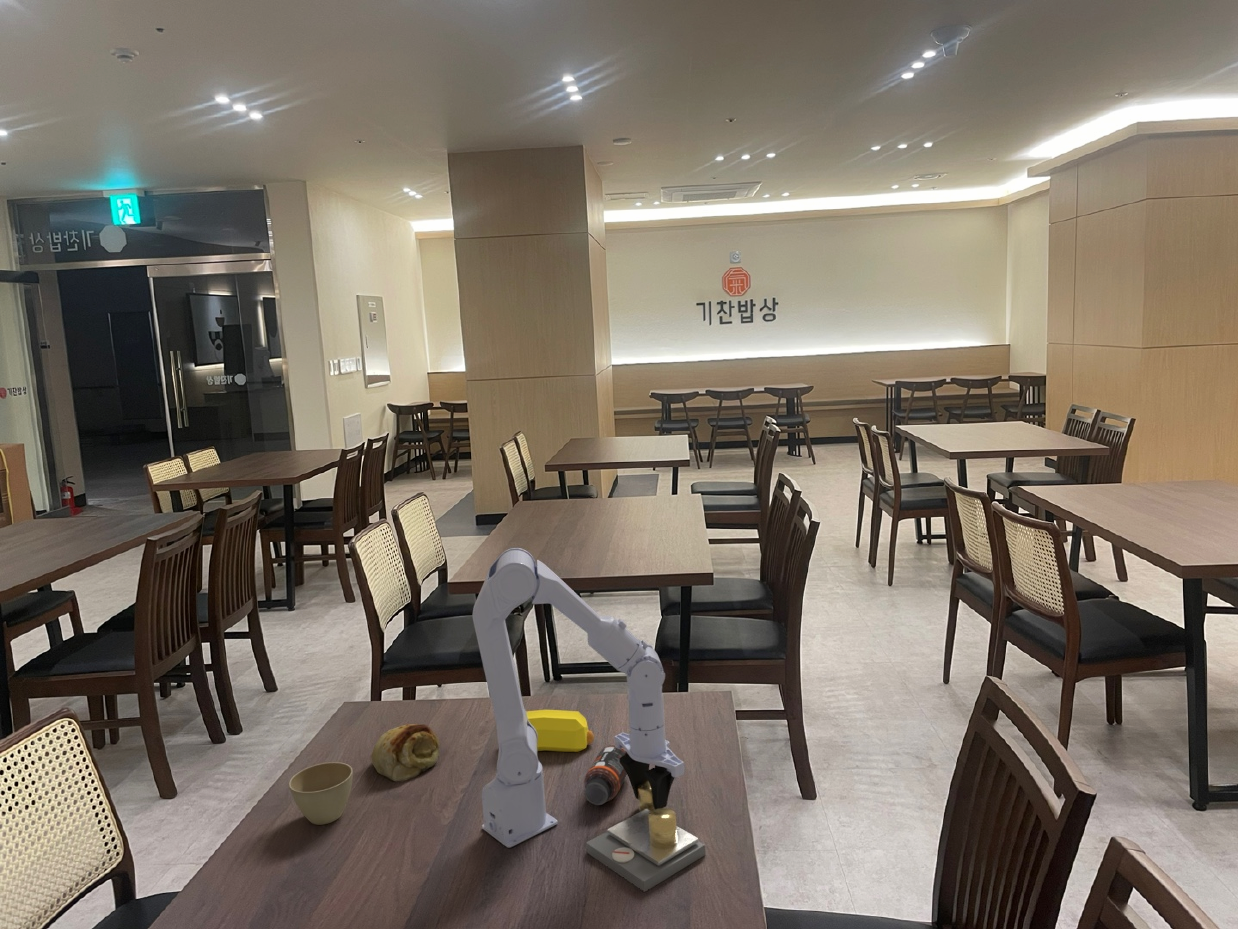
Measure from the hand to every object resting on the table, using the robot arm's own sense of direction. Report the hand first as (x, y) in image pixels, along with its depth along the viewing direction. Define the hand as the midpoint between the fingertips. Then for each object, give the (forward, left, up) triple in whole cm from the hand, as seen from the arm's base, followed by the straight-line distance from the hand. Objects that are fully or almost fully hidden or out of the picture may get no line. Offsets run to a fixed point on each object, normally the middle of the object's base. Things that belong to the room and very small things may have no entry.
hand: (651, 802), depth 140 cm
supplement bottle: (+3, +13, +2) cm, 13 cm away
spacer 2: (-7, -11, +1) cm, 13 cm away
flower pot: (-39, +38, -2) cm, 54 cm away
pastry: (-21, +44, -2) cm, 49 cm away
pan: (-7, -8, 0) cm, 11 cm away
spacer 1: (0, 0, -1) cm, 1 cm away
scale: (-9, -8, -1) cm, 12 cm away
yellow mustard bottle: (+1, +31, -2) cm, 31 cm away
